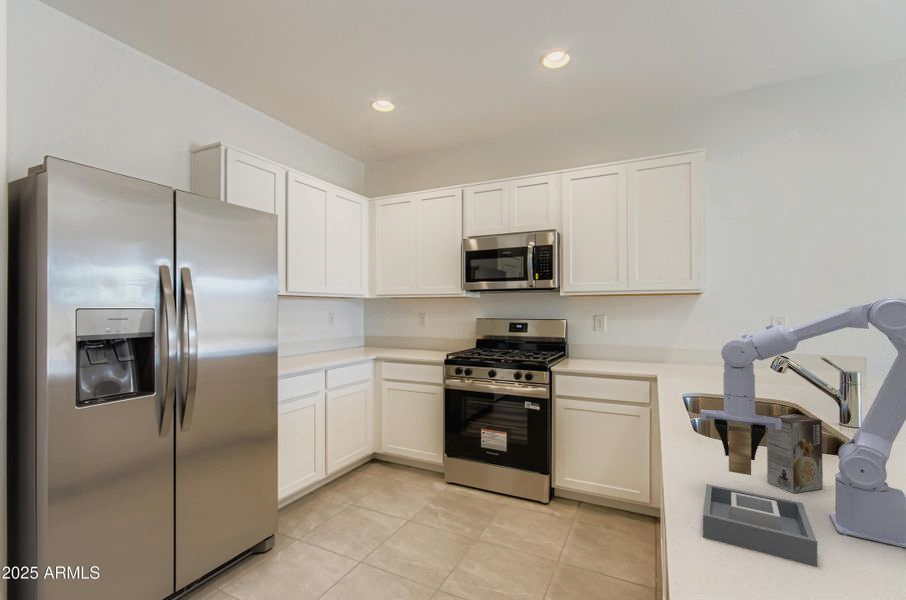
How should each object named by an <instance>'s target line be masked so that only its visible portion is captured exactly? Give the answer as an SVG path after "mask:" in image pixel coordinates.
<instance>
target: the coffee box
mask: <svg viewBox="0 0 906 600" xmlns="http://www.w3.org/2000/svg"><path fill="white" fill-rule="evenodd" d="M766 416H767V417H773V418H780V419H781V430H780V429H775V428H770V427H766V451H767V452H766V454H767V455H766V458H767V459H766V460H767V461H766V463H767V468H766V469H767V471H766V472H767V483H768V484H769V485H772V486H775V487H777V488H780V489H783V490H785V491H787V492H789V493H792V494H799V493H804V492H810V491H815V490H822V489H823V488H824V487H823V486H824V485H823V483H824V482H823V477H824V476H823V475H824V474H823V432H822V430H823V427H822V425H823V424H822V421H823V420H822V419H819V418H814V417H810V416H807V415H806V416H805V415H803V414H802V415H801V414H796V413H787V414H774V415H766Z"/></svg>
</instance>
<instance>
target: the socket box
mask: <svg viewBox="0 0 906 600" xmlns="http://www.w3.org/2000/svg"><path fill="white" fill-rule="evenodd" d="M702 517H703V518H702V537H703V538H706V539H709V540H713V541H717V542H720V543H725V544H728V545H732V546H736V547H740V548H744V549H748V550H752V551H755V552H760V553H763V554H766V555H767V554H768V555H770V556H771V555H772V556H774V557H779V558H783V559H787V560H789V561H790V560H792V561H794V562H798V563H801V564H802V563H803V564H805V565H810V566H814V567H818V540H817V538H816V535H815V532H814V530H813V526H812V524H811V522H810V520H809V519H810V518H809V517H808V515H807V511H806V509H805V507H804V504H803V502H800V501H799V502H798V501H793V500H790V499H784V498H780V497H773V496H769V495H765V494H759V493H754V492H749V491H744V490H738V489H734V488H729V487H725V486H724V487H723V486H719V485H713V484H708V483H706V486H705V495H704V504H703V513H702Z"/></svg>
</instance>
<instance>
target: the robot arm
mask: <svg viewBox="0 0 906 600" xmlns="http://www.w3.org/2000/svg"><path fill="white" fill-rule="evenodd" d="M869 323H870V324H871V325H872V326H873V327H874V328H876V330H878V331H879V332H881V333H882V334H884V335H885V336H886V337H887V338H888V340H889V341H890V343H891V344H892V345H893V347H894V348H895V350H896V351H897V355H896V358H895V360H894V361H893V363H892V365H891V367H890V369H889V371H888V373H887V375H886V376H885V379H884V380H883V382H882V384H881V387H880V388H879V390H878V391H877V394H876V396H875V398H874V400H873V402H872V404H871V405H870V407H869V409H868V410H867V413H866V415H865V417H864V418H863V421H862V423H861V425H860V427H859V428H858V429H857V430H856V432H855V433H854V435H853V436H852V438H851V439H850V440H849V441H848V442H845V443H843V444H842V445H840V447H839V448H838V450H837V451H838V452H837V455H838V459H839V461H838V470H839V472H837V473H836V474H835V475H834V476H835V479H834V481H835V482H834V483H835V513H833V512H830V513H829V517H830V519H831V522H832V523H833V525H834V527H835V529H836V531H837V532H838V533H839V534H843V535H849V536H852V537H856V538H860V539H865V540H871V541H876V542H880V543H884V544H888V545H893V546H897V547H901V548H902V547H903V548H906V494H905V493H904V491H903V490H902V489H899V488H894V487H891V486H889V484H888V483H887V482H886V481H887V477H888V472H887V469H886V465H887V462H888V460H889V459H890V456H891V451H892V447H893V445H894V442H895V440H896V438H897V437H898V434H899V433H900V431H901V429H902V428H903V425H904V424H905V422H906V298H902V297H901V298H900V297H888V298H882V299H879V300H876V301H874V302H866V303H863V304H857V305H852V306H848V307H844V308H841V309H839V310H835V311H832V312H831V313H828V314H825V315H822V316H819V317H817V318H814V319H811V320H809V321H806V322H804V323H800V324H797V325H794V326H793V327H792V326H791V327H790V326H786V325H784V324H777V325H774V324H773V323H772V324H771V323H770V324H768V325H766V326H765V329H762V330H760V331H756V332H754V333H751V334H749V335H748V334H747V333H745V334H743V335H741V338H742V339H733V340H732V339H731V340H730V341H729V342H727V343H726V344H725V345H724V346H722V348H721V353H720V355H721V358H722V360H723V363H724V364H723V369H724V370H723V371H724V372H723V410H714V409H711V410H710V409H700V420H701V421H707V420H709V421H714V423H713V424H714V427H715V429H716V431H717V433H718V435H719V437H720V440H721V443H722V446H723V450H724V456H725V457H729V427H728V426H729V425H728V423H732V424H738V425H739V424H741V425H747V426H750V430H751V461H755V460H756V454H757V450H758V448H759V445H760V443H761V441H762V440H763V439H764V437H765V436H766V434H767V427H770V428H775V429H780V430H781V419H780V418H773V417H767V416H768V415H760V414H756V375H755V373H754V372H755V371H754V370H755V368H754V365H755V364H754V361H756V360H758V361H764V360H767V359H771V358H774V357H776V356H780V355H782V354H786V353H790V352H793V351H795V350H796V349H797V348H798V347H797V346H798V344H799V342H801V341H802V342H803V341H805V340H808V339H812V338H814V337H819V336H822V335H824V334H825V335H826V334H828V333H833V332H835V331H839V330H841V329H842V330H843V329H845V328H846V329H847V328H850V329H851V328H852V329H853V328H854V329H865V330H867V329H870V326H869Z"/></svg>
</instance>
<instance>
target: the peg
mask: <svg viewBox="0 0 906 600" xmlns="http://www.w3.org/2000/svg"><path fill="white" fill-rule="evenodd" d="M728 446H729V456H728V472H729V473H735V474H741V475H747V476H752V460H751V427H749V428H748V427H742V426H741V427H740V426H733V425H728Z"/></svg>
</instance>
